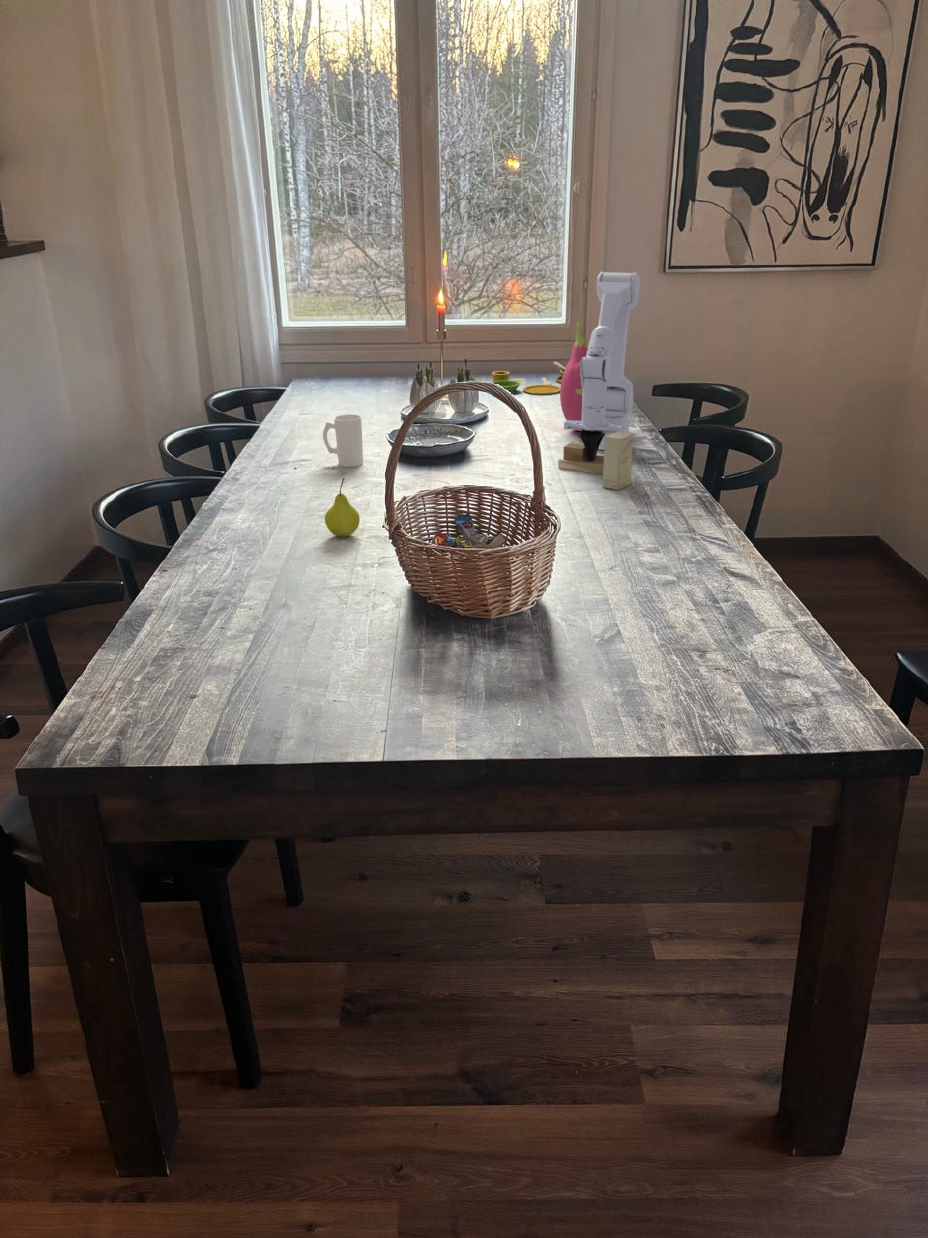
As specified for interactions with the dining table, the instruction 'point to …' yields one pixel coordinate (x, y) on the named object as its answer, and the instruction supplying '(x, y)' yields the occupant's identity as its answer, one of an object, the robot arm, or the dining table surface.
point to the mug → (346, 439)
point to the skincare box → (617, 460)
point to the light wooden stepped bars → (583, 465)
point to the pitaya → (574, 381)
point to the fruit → (342, 517)
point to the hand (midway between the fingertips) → (591, 460)
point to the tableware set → (512, 386)
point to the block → (575, 452)
